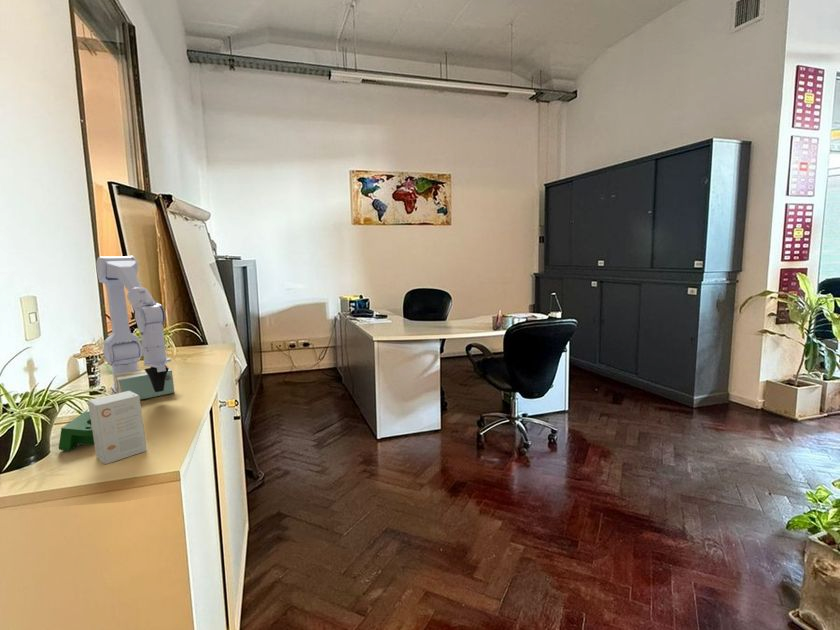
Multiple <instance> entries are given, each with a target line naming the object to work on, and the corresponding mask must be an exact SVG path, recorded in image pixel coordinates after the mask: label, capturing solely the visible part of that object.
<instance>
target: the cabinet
mask: <svg viewBox="0 0 840 630" xmlns="http://www.w3.org/2000/svg"><path fill="white" fill-rule="evenodd" d="M144 369H145V368H143V369H139V370H137V371H131V372H125V373H119V374H114V377H115V384H116V392H117V393H121V392H122V390H121V382H120V379H122V378H128V377H133V376H139V375H144V374H147V373H146V371H145V370H144ZM169 370H171V369H170V368H169ZM117 393H116V394H117Z"/></svg>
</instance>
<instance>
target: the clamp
mask: <svg viewBox="0 0 840 630" xmlns="http://www.w3.org/2000/svg"><path fill="white" fill-rule="evenodd" d="M79 445H87V446H88V445H89V446H95V444H94V438H93V431H92V424H91V418H90V411H89V410H88V411H83V412H82V413H81V414H79V415H78V416H76V417H75V418H74V419H73V420H71V421H70V422H68V423H67V424H65V425H64V426H63V427H61V429H60V436H59V443H58V450H59V451H66V452H67V451H69V452H71V451H72V450H73V449H75V448H77V446H79Z"/></svg>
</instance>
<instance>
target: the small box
mask: <svg viewBox="0 0 840 630" xmlns="http://www.w3.org/2000/svg"><path fill="white" fill-rule="evenodd" d="M87 402H88V403H87V404H88V412H90V418H91V424H92V431H93V438H94V444H95V445H94V449H95V456H96V458H97V459H99V461H101V462H102V463H103V464H105V465H108V464H110V463H113V462H116V461H119V460H120V461H121V460H122V459H123V460H124V459H125V458H129V457H131V456H135V455H137V454H138V455H139V454H141V453H145V452H146V451H147V444H146V443H147V442H146V438H145V437H146V435H145V426H144V422H143V421H144V420H143V415H142V414H143V413H142V407H141V400H140V397H139V395H137V394H135V393H133V392H131V391H126V392H121V393H113V394H108V395H104V396H101V397H97V398H92V399H88V400H87Z"/></svg>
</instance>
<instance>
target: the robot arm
mask: <svg viewBox="0 0 840 630" xmlns="http://www.w3.org/2000/svg"><path fill="white" fill-rule="evenodd" d="M95 266H96V274H97V279H98V282H99V283H101V284H104V286H105V289H106V295H107V297H106V298H107V304H108V310H109V317H110V325H111V331H112V333H111V334H110V335H109V336H107V338H105V340H103V343H102V344H103V350H102V353H103V359H104V361H105V362H106V363H107V364H109V365H111V369H112V370H111V371H112V377H113V378H112V379H113V385H111V389H112V390H113V392H114V394H117V392H116V384H115V377H114V374H119V373H125V372H131V371H137V370H140V369H139V361H140V359H142V356H143V366H144V367H147V368H143V369H144V370H145V371H146V373H147V374H148V376H149V378H150V380H151V383H152V386H153V388H154V391H155V392H160V391H164V384H165V378H166V374H167V372H168V370H169V369H170V368H169V367H168V366H167V364H168V363H170V362H172V358H171V357H167V352H166V343H165V334H164V326H163V325H164V324H165V322H166V311H165V309H164V306H163V305H162V304H161V303H159V302H156V301H155V300H154V298H153V297H152V295H151V293H150V291H149V290H148V289H147V288H146V287H143V286H142V285H141V283H140V279H139V278H138V271H139V263H138V261H137V258H136V257H135V256H134V255H125V256H121V255H120V256H117V255H116V256H101V255H100V256H98V258H97V259H96V264H95ZM125 289H126V290H127V295H126V292H125ZM126 297H127V298H126ZM126 299H127V300H128V301H129V303H130V305H131V307H132V309H133V311H134V320H135V322H136V325H137V330H138V333H140V337H139V336H138V335H136V334H135V333H132V332H131V329H130V322H129V315H128V314H129V313H128V307H127V301H126ZM140 339H141V340H140Z"/></svg>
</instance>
